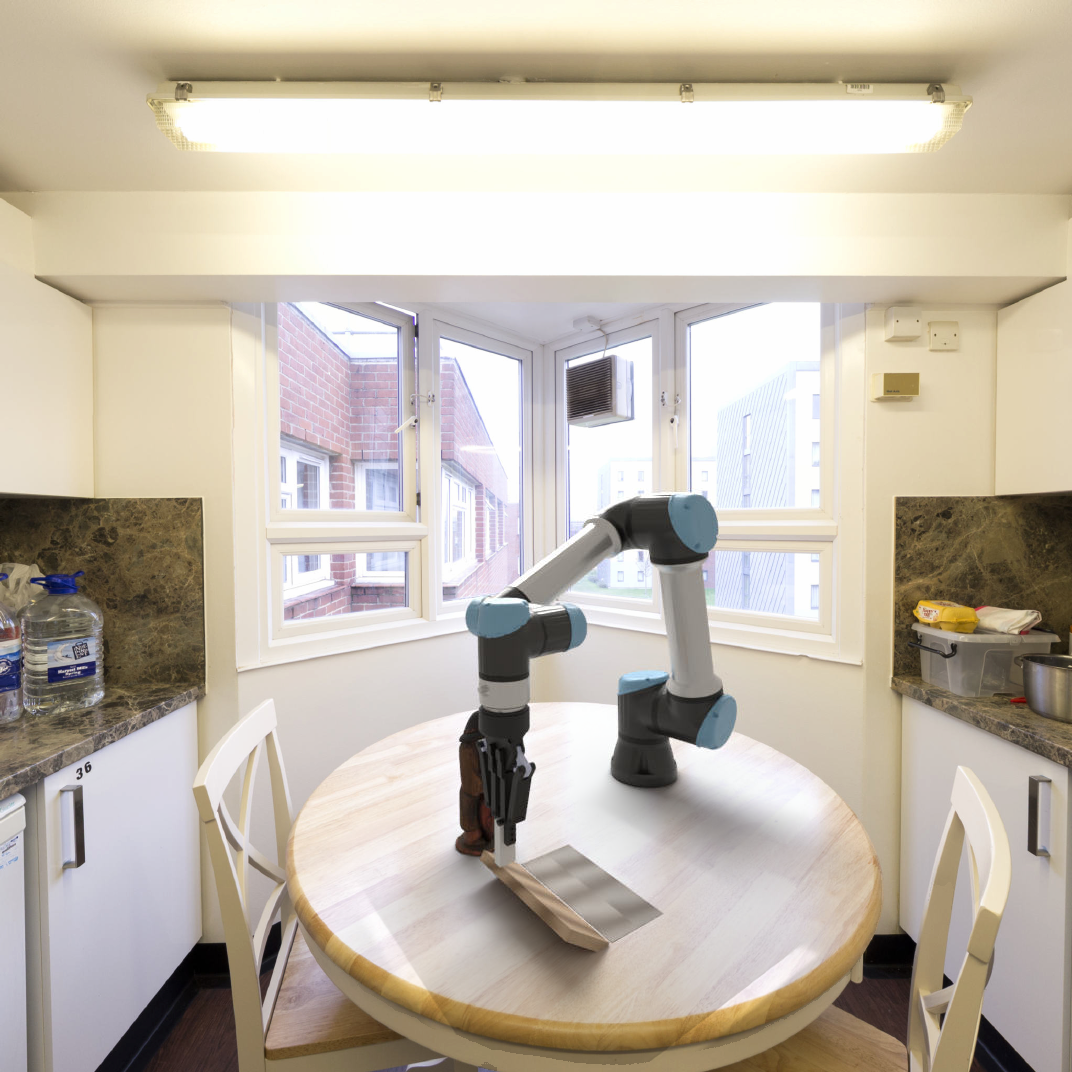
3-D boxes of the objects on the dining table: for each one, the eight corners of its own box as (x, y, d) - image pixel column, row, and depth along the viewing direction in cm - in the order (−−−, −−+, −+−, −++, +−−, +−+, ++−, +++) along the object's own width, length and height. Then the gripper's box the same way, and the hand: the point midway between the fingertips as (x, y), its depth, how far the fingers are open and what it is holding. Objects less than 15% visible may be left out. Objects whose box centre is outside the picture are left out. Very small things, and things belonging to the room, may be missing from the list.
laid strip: (521, 872, 97) (521, 864, 97) (568, 852, 102) (568, 844, 102) (612, 953, 79) (612, 942, 79) (663, 923, 85) (663, 913, 84)
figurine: (481, 871, 97) (480, 723, 97) (445, 857, 101) (443, 715, 101) (515, 842, 106) (514, 706, 105) (479, 830, 110) (478, 699, 109)
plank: (479, 859, 92) (484, 849, 92) (514, 873, 96) (518, 863, 96) (565, 941, 74) (570, 929, 74) (604, 954, 78) (609, 942, 78)
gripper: (460, 698, 89) (461, 850, 90) (506, 722, 78) (507, 894, 79) (502, 689, 93) (503, 834, 94) (551, 711, 83) (551, 874, 83)
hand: (505, 861), depth 86 cm, fingers closed
